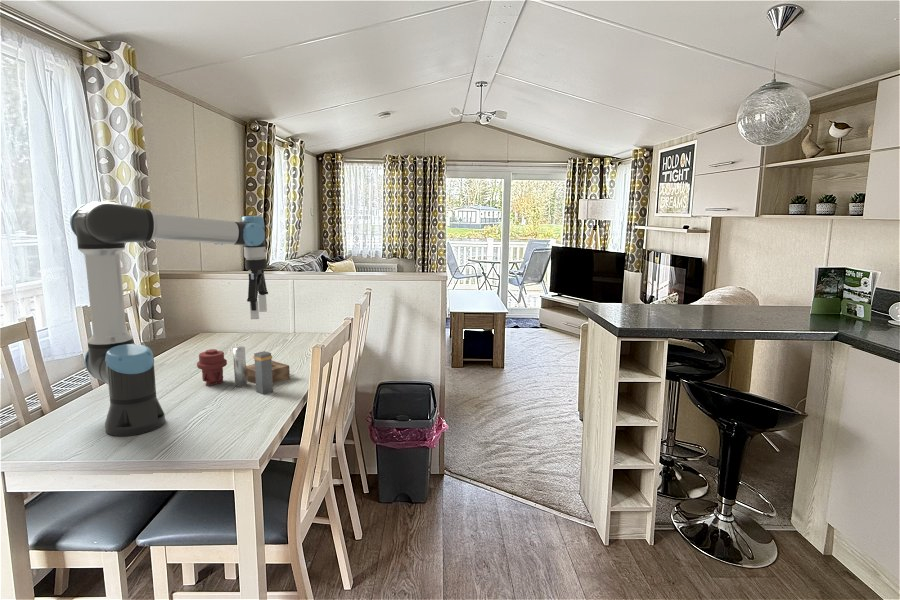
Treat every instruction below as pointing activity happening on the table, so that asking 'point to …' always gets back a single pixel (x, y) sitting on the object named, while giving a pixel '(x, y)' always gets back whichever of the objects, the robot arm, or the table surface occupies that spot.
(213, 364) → the mechanical component
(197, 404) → the table surface
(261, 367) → the square bit
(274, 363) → the socket block
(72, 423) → the table surface
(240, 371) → the silver metal bar
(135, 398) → the robot arm
